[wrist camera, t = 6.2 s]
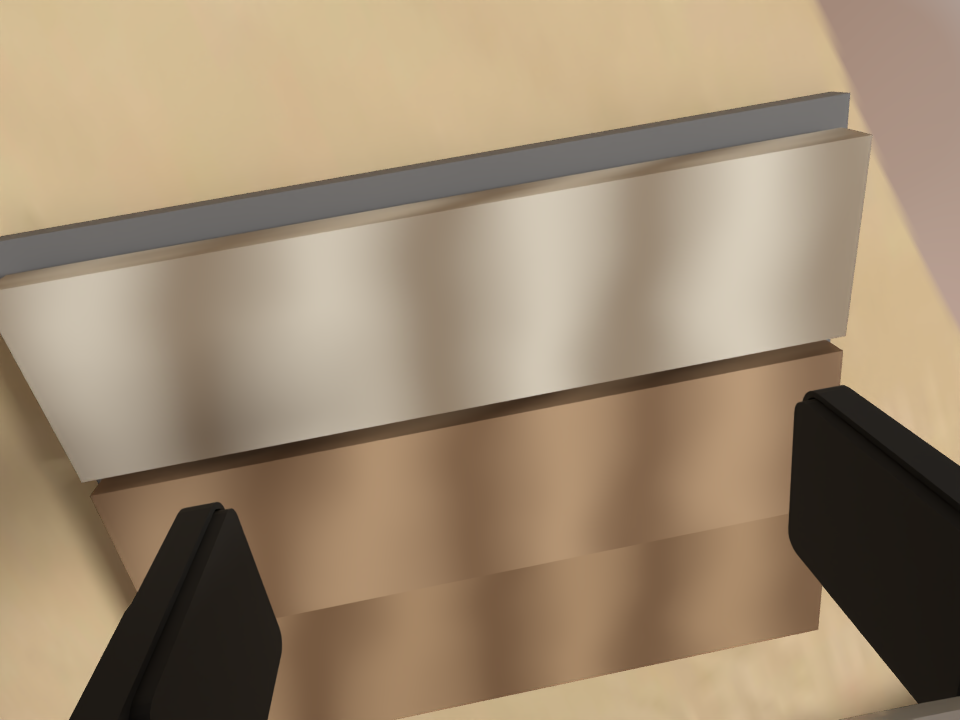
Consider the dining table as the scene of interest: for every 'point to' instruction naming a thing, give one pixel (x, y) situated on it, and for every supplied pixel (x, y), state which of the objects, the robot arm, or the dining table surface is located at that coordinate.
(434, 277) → the loose plank
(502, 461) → the floor panel
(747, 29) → the dining table surface
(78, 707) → the robot arm
